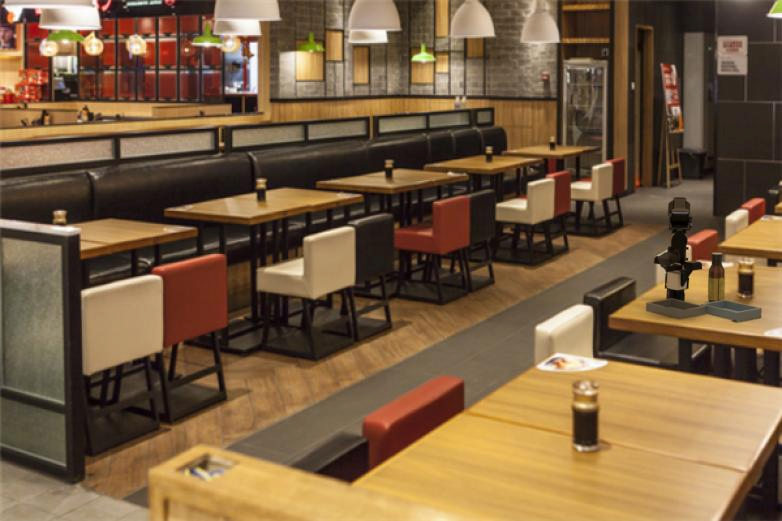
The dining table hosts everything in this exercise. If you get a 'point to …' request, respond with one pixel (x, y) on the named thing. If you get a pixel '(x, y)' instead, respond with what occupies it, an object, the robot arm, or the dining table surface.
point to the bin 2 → (732, 310)
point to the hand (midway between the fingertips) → (676, 285)
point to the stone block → (675, 280)
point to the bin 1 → (675, 308)
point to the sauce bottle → (716, 279)
